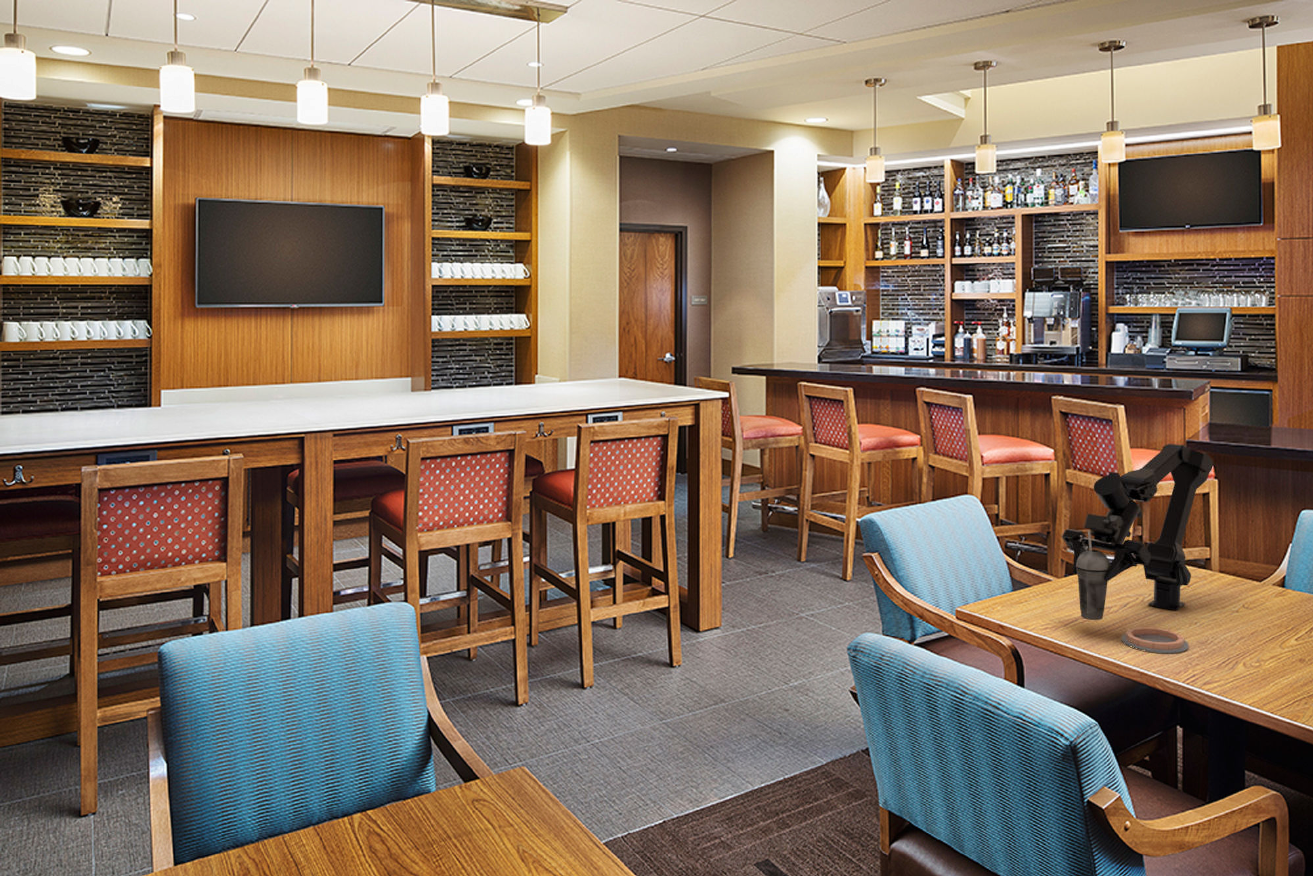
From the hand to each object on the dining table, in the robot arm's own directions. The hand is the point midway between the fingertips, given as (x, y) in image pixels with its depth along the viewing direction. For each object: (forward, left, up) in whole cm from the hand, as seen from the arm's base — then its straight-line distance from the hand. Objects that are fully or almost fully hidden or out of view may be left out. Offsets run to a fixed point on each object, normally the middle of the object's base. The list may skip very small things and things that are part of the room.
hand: (1089, 576), depth 213 cm
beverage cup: (-1, 0, -10) cm, 10 cm away
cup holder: (-3, +13, -13) cm, 19 cm away
